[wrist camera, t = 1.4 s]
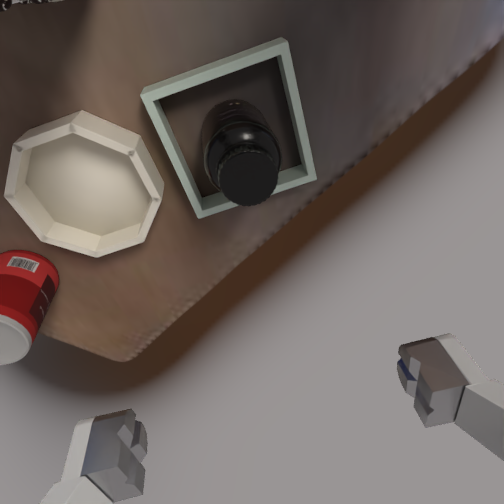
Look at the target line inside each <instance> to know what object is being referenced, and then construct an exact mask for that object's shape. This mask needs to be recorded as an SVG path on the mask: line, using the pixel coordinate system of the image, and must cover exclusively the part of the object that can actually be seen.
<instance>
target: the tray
mask: <svg viewBox="0 0 504 504" xmlns="http://www.w3.org/2000/svg"><path fill="white" fill-rule="evenodd" d="M275 56H277V60H278V64H279V69H280V73H281V77H282V82H283V86H284V90H285V94H286V99H287V103H288V107H289V112H290V116H291V120H292V124H293V129H294V133H295V137H296V142H297V146H298V150H299V155H300V159H301V163H302V164H301V165H298V166H295V167H292V168H289V169H286V170H283V171H280V172H279V174H278V180H277V181H278V183H277V185H276V189H275V190H274V192H273V193H272V194H275V193H278V192H281V191H284V190H287V189H290V188H293V187H296V186H299V185H302V184H305V183H308V182H311V181H314V180H317V177H316V172H315V168H314V163H313V158H312V153H311V149H310V144H309V139H308V134H307V130H306V125H305V120H304V115H303V111H302V106H301V101H300V97H299V92H298V87H297V82H296V78H295V73H294V68H293V63H292V59H291V54H290V49H289V44H288V41H287V40H285V39H284V38H282V37H280V38H277V39H274V40H272V41H269V42H266V43H263V44H261V45H258V46H255V47H252V48H250V49H247V50H244V51H242V52H239V53H236V54H233V55H231V56H228V57H225V58H223V59H220V60H217V61H214V62H212V63H209V64H206V65H203V66H201V67H198V68H195V69H193V70H190V71H187V72H184V73H182V74H179V75H176V76H174V77H171V78H168V79H165V80H163V81H160V82H157V83H155V84H152V85H149V86H146V87H144V88H143V90H142V92H141V94H140V96H141V98H142V100H143V102H144V105H145V107H146V109H147V111H148V113H149V115H150V117H151V119H152V122H153V124H154V126H155V128H156V130H157V132H158V134H159V136H160V139H161V141H162V143H163V145H164V147H165V149H166V151H167V154H168V156H169V158H170V160H171V162H172V164H173V166H174V168H175V171H176V173H177V175H178V177H179V179H180V181H181V183H182V185H183V188H184V190H185V192H186V194H187V196H188V198H189V200H190V202H191V205H192V207H193V209H194V211H195V213H196V215H197V217H198V219H200V218H203V217H206V216H209V215H212V214H215V213H218V212H221V211H224V210H227V209H230V208H233V207H236V206H239V205H237V204H236V203H233V202H232V201H230V200H228V198H227V197H225V196H224V193H222V192H218V193H215V194H212V195H209V196H206V197H203V198H202V197H201V195H200V192H199V190H198V188H197V186H196V183H195V181H194V179H193V176H192V174H191V172H190V170H189V167H188V165H187V163H186V161H185V158H184V156H183V154H182V152H181V149H180V147H179V145H178V143H177V140H176V138H175V136H174V134H173V131H172V129H171V127H170V125H169V122H168V120H167V118H166V116H165V113H164V111H163V109H162V107H161V104H160V102H159V100H158V99H160V98H163V97H165V96H168V95H171V94H174V93H176V92H179V91H182V90H185V89H187V88H190V87H193V86H196V85H198V84H201V83H204V82H207V81H209V80H212V79H215V78H218V77H220V76H223V75H226V74H229V73H231V72H234V71H237V70H240V69H242V68H245V67H248V66H251V65H253V64H256V63H259V62H262V61H264V60H267V59H270V58H273V57H275ZM272 194H271V195H272Z"/></svg>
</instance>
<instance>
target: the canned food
mask: <svg viewBox="0 0 504 504" xmlns="http://www.w3.org/2000/svg"><path fill="white" fill-rule="evenodd" d="M58 285H59V275H58V271H57V269H56V268H55V266H54V265H53V264H52V263H51V262H50V261H49V260H48V259H46V258H45V257H43V256H41V255H39V254H36V253H33V252H30V251H24V250H12V251H7V252H3V253H1V254H0V365H7V364H10V363H14V362H16V361H19V360H20V359H22V358H23V357H24V356H25V355H26V354H27V353H28V351H29V349H30V348H31V346H32V343H33V341H34V339H35V337H36V335H37V333H38V330H39V328H40V326H41V324H42V321H43V319H44V317H45V315H46V312H47V310H48V308H49V306H50V303H51V301H52V299H53V297H54V294H55V292H56V290H57V287H58Z"/></svg>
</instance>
